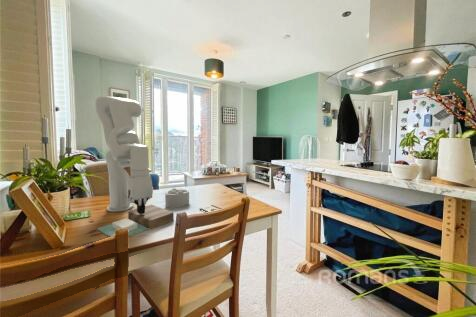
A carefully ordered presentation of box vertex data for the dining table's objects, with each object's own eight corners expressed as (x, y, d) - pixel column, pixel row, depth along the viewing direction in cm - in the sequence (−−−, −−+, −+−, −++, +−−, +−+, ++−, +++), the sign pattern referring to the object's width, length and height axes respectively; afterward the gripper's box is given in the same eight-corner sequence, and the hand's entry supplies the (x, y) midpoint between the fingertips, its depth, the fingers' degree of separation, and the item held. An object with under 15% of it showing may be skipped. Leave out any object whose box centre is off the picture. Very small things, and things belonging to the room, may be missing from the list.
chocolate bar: (221, 218, 104) (199, 208, 116) (221, 220, 104) (199, 210, 117) (234, 213, 111) (212, 205, 123) (234, 215, 111) (212, 206, 123)
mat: (97, 229, 91) (97, 228, 91) (128, 219, 101) (128, 218, 101) (116, 241, 81) (115, 239, 81) (147, 229, 92) (147, 227, 92)
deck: (128, 219, 102) (128, 210, 102) (151, 211, 112) (151, 204, 111) (150, 229, 92) (150, 220, 91) (173, 220, 101) (173, 212, 101)
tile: (126, 218, 97) (126, 222, 97) (112, 222, 92) (112, 227, 92) (137, 223, 91) (137, 227, 92) (123, 228, 87) (123, 232, 87)
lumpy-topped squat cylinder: (191, 203, 126) (191, 189, 125) (170, 209, 117) (170, 193, 116) (181, 199, 133) (181, 186, 132) (161, 204, 124) (161, 189, 123)
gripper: (150, 170, 104) (151, 207, 106) (118, 174, 91) (120, 216, 94) (159, 171, 99) (160, 210, 101) (127, 176, 87) (129, 220, 89)
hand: (141, 213), depth 97 cm, fingers closed
